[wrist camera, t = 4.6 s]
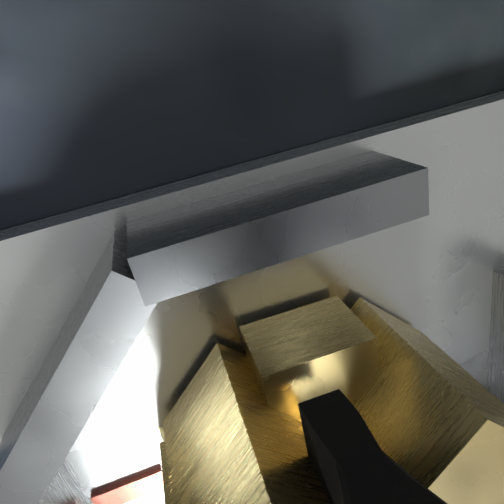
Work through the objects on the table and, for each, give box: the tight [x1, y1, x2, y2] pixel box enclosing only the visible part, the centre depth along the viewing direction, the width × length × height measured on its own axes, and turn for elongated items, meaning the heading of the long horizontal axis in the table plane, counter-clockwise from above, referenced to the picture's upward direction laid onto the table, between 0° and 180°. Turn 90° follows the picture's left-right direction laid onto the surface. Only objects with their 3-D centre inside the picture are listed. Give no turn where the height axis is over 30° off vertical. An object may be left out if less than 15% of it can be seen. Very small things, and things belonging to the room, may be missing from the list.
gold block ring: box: [160, 296, 504, 504], centre depth 13 cm, size 10×10×6 cm
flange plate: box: [0, 91, 504, 504], centre depth 13 cm, size 19×19×7 cm
